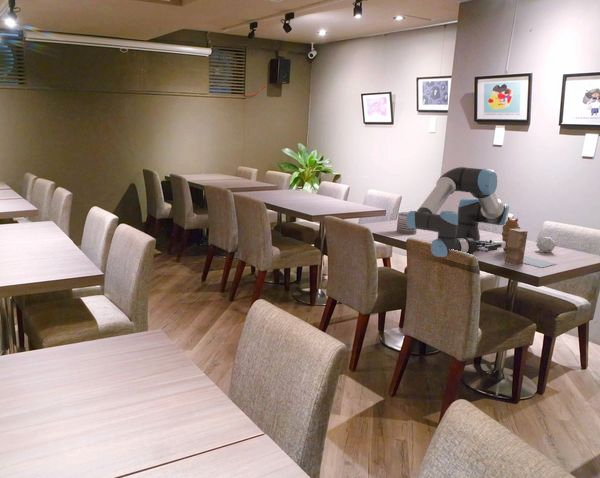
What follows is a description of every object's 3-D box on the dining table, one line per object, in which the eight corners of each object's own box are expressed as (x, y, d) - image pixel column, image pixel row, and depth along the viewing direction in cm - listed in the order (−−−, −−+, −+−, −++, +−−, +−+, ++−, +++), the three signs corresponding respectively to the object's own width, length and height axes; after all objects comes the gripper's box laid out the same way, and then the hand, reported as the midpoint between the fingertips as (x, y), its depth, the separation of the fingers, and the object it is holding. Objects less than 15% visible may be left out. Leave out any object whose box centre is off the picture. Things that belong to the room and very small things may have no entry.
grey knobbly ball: (552, 256, 261) (561, 240, 262) (538, 246, 261) (547, 231, 262) (544, 257, 269) (553, 242, 270) (530, 248, 269) (539, 233, 271)
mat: (505, 258, 246) (505, 258, 246) (520, 255, 255) (520, 254, 255) (541, 268, 233) (542, 267, 233) (556, 264, 241) (556, 263, 241)
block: (514, 265, 234) (519, 231, 231) (504, 262, 240) (509, 228, 236) (522, 265, 236) (527, 231, 233) (512, 261, 242) (517, 228, 238)
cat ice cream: (519, 253, 260) (524, 218, 256) (512, 255, 255) (517, 219, 251) (502, 249, 266) (507, 215, 262) (495, 251, 261) (500, 216, 257)
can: (407, 235, 289) (409, 214, 286) (392, 231, 297) (394, 211, 295) (420, 233, 296) (422, 213, 294) (404, 230, 305) (406, 210, 302)
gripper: (452, 251, 230) (492, 249, 240) (472, 258, 219) (514, 255, 228) (454, 235, 229) (494, 233, 238) (475, 241, 217) (516, 239, 226)
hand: (504, 244), depth 233 cm, fingers closed
